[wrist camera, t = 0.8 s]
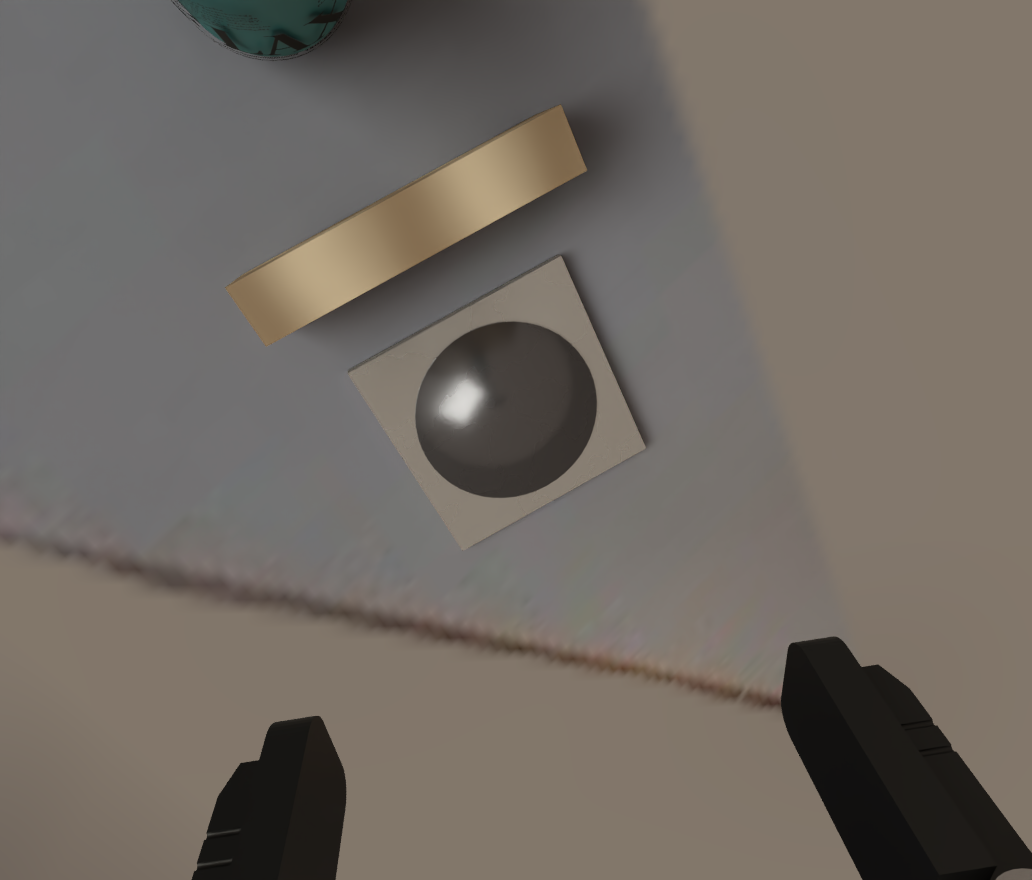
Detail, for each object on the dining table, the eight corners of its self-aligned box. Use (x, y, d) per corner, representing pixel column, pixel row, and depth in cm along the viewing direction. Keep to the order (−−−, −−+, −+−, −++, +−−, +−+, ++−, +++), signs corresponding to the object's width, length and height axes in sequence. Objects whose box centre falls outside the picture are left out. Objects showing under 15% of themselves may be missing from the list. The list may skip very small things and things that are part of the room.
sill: (278, 325, 28) (266, 346, 24) (243, 274, 27) (224, 287, 23) (558, 172, 28) (587, 170, 25) (534, 115, 27) (560, 104, 24)
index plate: (460, 544, 34) (462, 551, 33) (347, 370, 29) (347, 374, 29) (641, 443, 34) (646, 448, 34) (557, 254, 30) (561, 255, 29)
